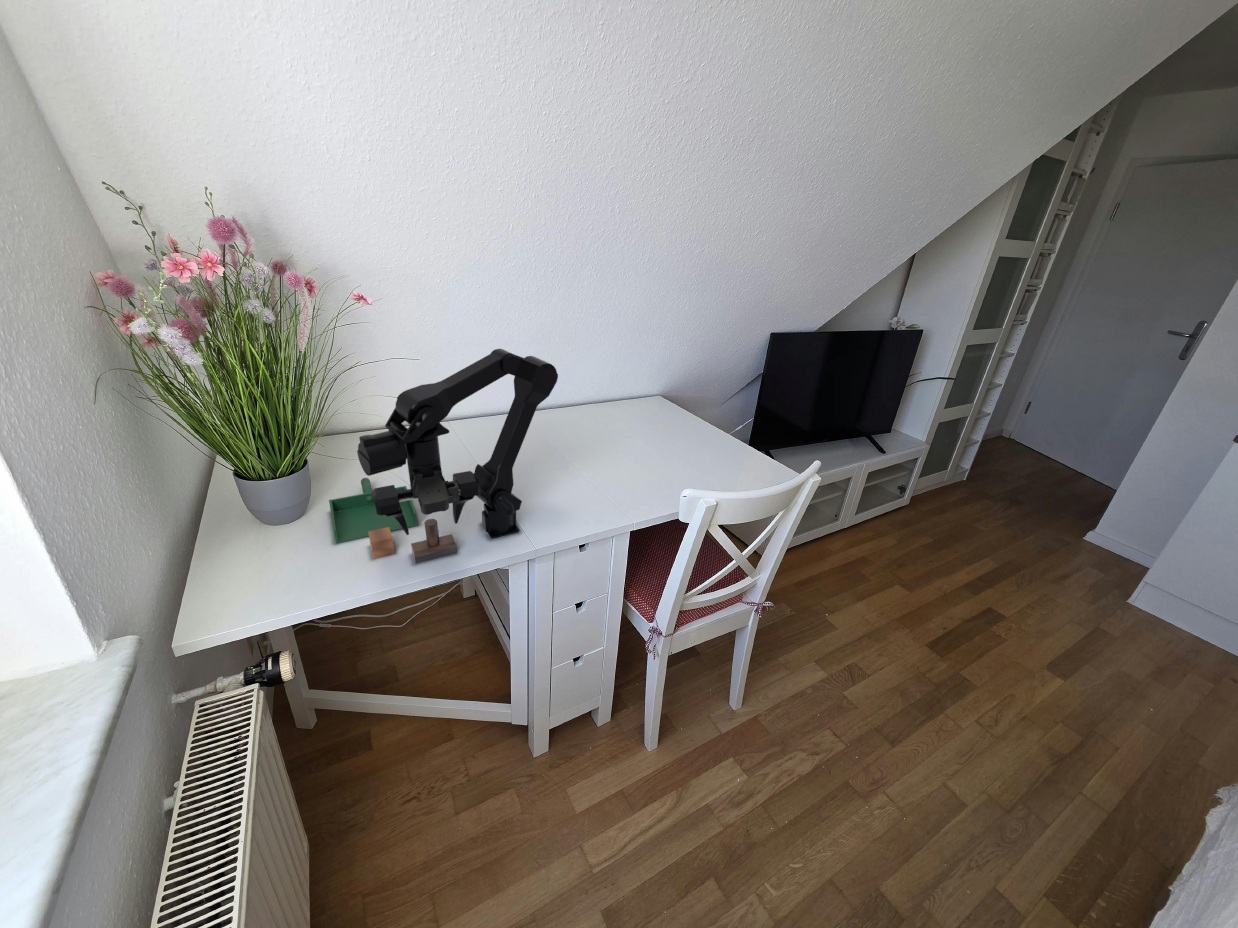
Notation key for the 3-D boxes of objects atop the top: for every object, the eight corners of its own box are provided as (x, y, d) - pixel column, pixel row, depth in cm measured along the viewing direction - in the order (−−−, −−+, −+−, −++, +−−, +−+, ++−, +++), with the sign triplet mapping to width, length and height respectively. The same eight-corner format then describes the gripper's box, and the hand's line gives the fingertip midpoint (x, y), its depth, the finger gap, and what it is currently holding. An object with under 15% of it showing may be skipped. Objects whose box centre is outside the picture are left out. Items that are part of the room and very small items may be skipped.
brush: (452, 545, 107) (449, 513, 103) (456, 553, 105) (453, 521, 101) (412, 555, 103) (407, 522, 100) (415, 563, 101) (410, 531, 97)
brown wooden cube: (391, 542, 106) (389, 526, 104) (395, 553, 103) (392, 537, 101) (370, 547, 104) (367, 531, 103) (373, 558, 102) (370, 542, 100)
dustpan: (418, 525, 112) (416, 513, 111) (336, 543, 105) (333, 530, 103) (401, 480, 128) (399, 468, 127) (329, 492, 121) (326, 480, 119)
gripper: (374, 490, 83) (387, 565, 91) (487, 469, 92) (490, 539, 99) (365, 460, 92) (378, 531, 99) (470, 443, 100) (474, 509, 108)
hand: (432, 528), depth 101 cm, fingers open, 9 cm apart
